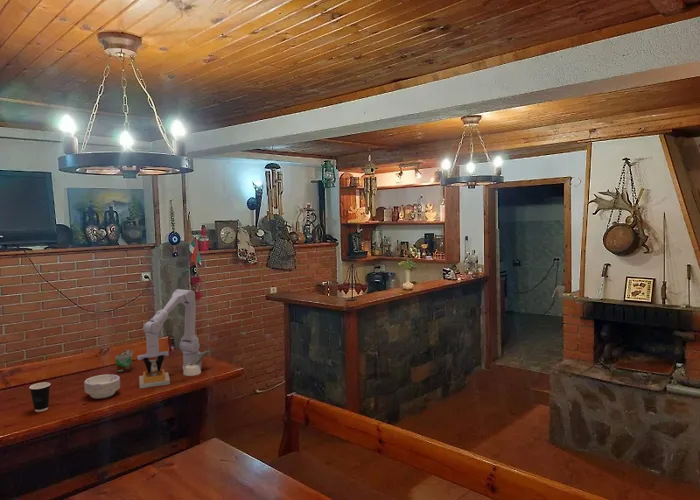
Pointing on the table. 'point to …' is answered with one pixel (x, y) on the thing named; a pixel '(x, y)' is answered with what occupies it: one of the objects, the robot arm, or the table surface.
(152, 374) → the spout can
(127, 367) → the food container
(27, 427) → the table surface
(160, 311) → the robot arm
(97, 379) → the paper bowls
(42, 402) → the dixie cup
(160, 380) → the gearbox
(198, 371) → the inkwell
